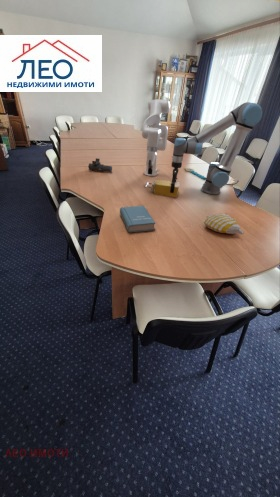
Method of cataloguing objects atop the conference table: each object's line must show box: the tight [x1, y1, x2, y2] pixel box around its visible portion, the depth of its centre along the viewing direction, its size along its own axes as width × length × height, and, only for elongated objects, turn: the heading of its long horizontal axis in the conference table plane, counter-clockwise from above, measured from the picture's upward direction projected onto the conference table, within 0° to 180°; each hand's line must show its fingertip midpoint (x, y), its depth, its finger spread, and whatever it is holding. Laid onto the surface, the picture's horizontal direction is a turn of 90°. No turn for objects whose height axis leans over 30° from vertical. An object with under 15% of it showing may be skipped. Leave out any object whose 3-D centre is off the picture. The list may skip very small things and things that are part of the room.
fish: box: [203, 213, 245, 235], centre depth 133 cm, size 25×8×20 cm
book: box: [119, 205, 156, 233], centre depth 136 cm, size 23×16×5 cm
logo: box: [183, 167, 206, 180], centre depth 223 cm, size 34×10×1 cm, turn 16°
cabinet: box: [153, 179, 180, 198], centre depth 176 cm, size 18×11×8 cm, turn 77°
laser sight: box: [88, 158, 113, 173], centre depth 208 cm, size 10×22×10 cm, turn 78°
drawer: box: [143, 180, 156, 193], centre depth 176 cm, size 23×10×6 cm, turn 77°
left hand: (149, 173), depth 172 cm, fingers closed
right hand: (172, 190), depth 175 cm, fingers closed on cabinet, 11 cm apart
